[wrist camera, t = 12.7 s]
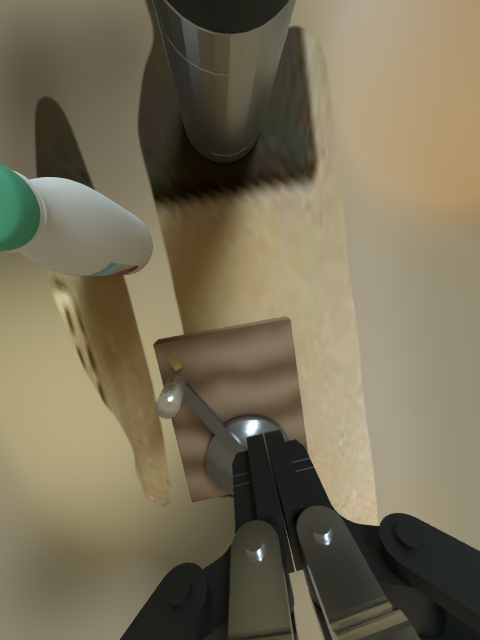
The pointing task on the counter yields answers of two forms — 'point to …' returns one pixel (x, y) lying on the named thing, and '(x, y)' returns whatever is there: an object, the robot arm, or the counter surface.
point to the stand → (232, 386)
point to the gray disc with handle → (215, 429)
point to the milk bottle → (69, 227)
